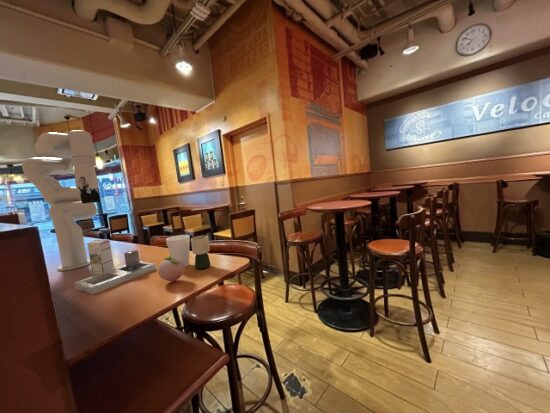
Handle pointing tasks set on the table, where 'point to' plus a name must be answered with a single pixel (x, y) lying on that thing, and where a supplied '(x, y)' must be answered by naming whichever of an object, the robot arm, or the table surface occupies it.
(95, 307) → the table surface
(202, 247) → the character mug
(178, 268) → the decorative fruit
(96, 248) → the syrup box
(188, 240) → the foam cup
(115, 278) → the hole plate
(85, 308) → the table surface
